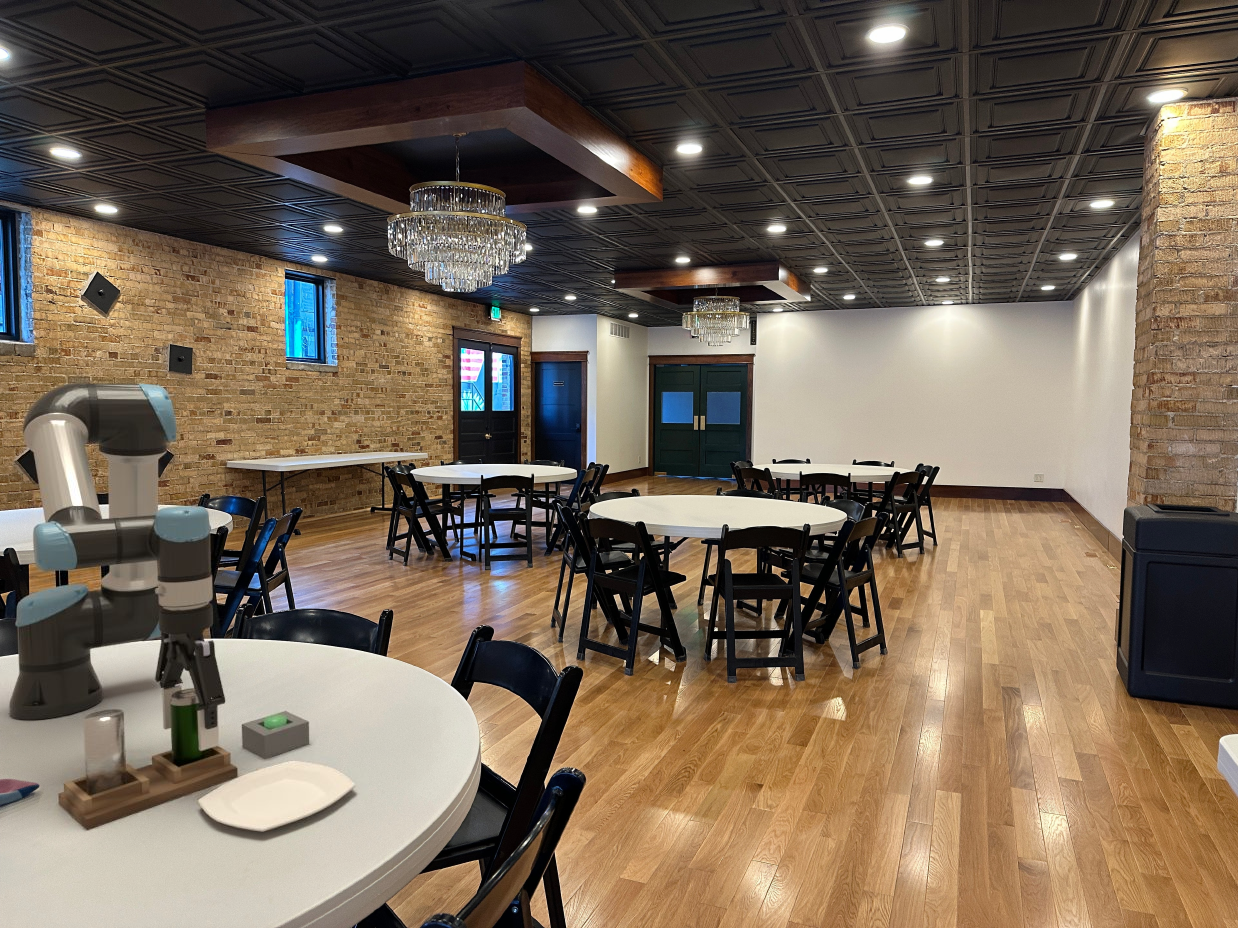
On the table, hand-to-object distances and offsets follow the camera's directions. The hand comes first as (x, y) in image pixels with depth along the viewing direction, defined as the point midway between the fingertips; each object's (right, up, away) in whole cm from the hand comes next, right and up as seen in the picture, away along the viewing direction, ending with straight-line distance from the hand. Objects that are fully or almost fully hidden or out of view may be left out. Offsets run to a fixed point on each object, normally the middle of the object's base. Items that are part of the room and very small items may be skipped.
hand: (190, 736), depth 127 cm
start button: (+8, -4, +12) cm, 15 cm away
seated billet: (-8, -6, -9) cm, 13 cm away
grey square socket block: (+8, -6, +12) cm, 16 cm away
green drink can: (0, -5, 0) cm, 5 cm away
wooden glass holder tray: (-4, -7, -4) cm, 9 cm away
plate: (+18, -8, -8) cm, 21 cm away
